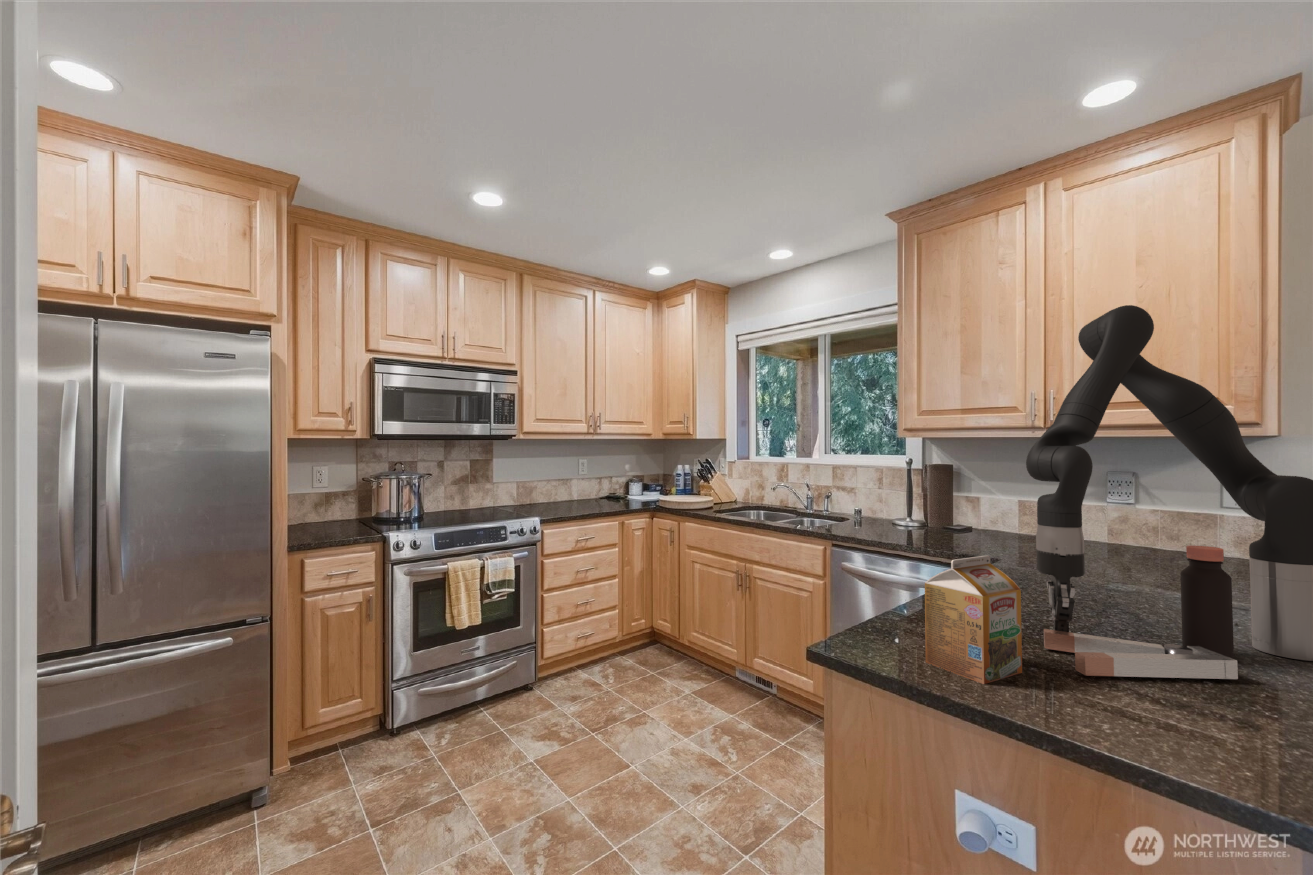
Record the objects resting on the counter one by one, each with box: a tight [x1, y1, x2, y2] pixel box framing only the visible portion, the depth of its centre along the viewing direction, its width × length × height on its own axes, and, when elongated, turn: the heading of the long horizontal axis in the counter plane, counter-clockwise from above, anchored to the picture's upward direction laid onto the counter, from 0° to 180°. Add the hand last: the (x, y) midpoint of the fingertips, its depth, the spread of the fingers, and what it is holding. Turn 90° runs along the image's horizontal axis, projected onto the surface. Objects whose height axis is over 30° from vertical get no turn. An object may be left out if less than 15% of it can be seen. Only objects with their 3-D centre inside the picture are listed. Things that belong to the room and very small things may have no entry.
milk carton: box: [924, 555, 1023, 685], centre depth 97 cm, size 11×11×19 cm
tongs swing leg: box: [1043, 628, 1193, 655], centre depth 100 cm, size 21×4×3 cm, turn 59°
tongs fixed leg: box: [1074, 646, 1239, 680], centre depth 94 cm, size 24×7×3 cm, turn 87°
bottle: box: [1179, 544, 1235, 659], centre depth 102 cm, size 7×7×20 cm
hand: (1061, 639), depth 107 cm, fingers closed
